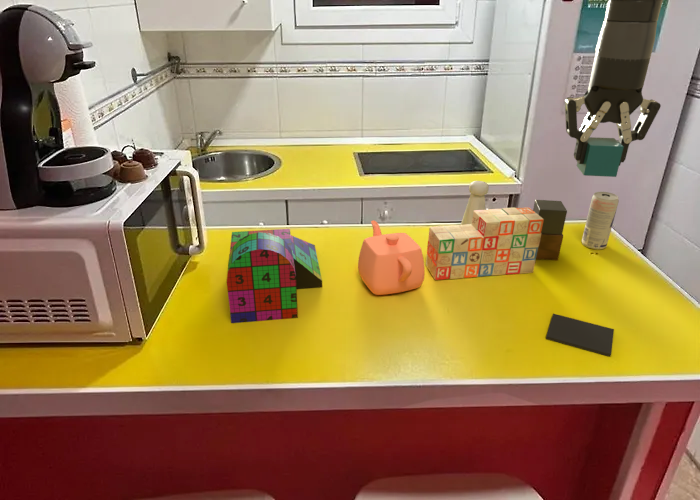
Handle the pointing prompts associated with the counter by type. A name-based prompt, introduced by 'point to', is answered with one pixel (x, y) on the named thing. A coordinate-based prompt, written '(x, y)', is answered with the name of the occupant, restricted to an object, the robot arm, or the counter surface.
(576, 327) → the rubber mat
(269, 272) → the checkered arched block
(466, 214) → the beige tapered round-topped piece
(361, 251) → the teapot
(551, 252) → the walnut base block
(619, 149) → the teal top block
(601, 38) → the robot arm
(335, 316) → the counter surface
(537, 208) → the charcoal middle block
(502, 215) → the stack of blocks
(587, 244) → the energy drink
